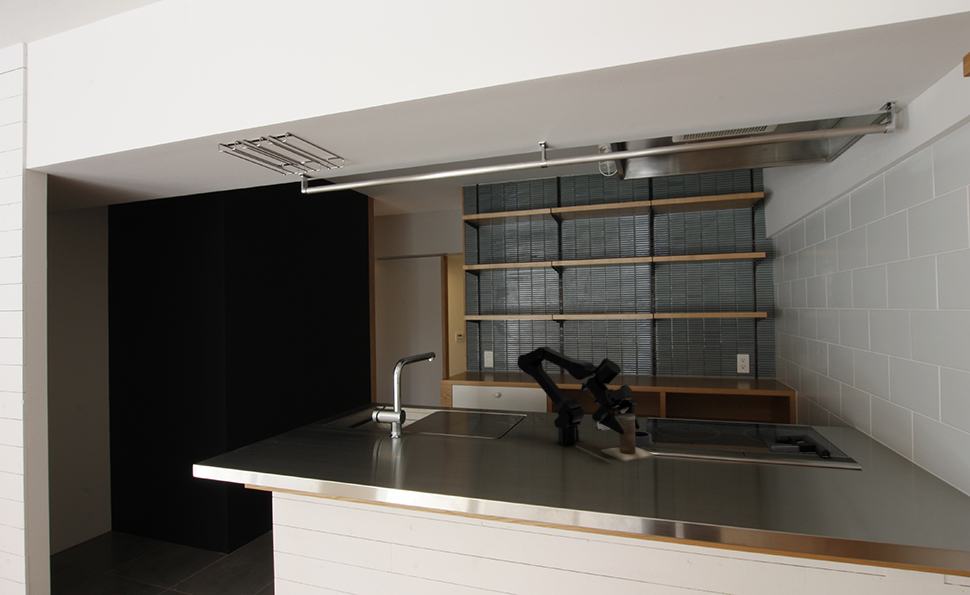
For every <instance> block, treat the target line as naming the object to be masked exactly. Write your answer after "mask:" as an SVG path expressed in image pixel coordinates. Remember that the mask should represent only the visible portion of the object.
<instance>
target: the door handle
mask: <svg viewBox="0 0 970 595" xmlns="http://www.w3.org/2000/svg"><path fill="white" fill-rule="evenodd" d="M773 440H774V443H778V444H789V445H771V446H770V447H771V448H770V449H771V451H772V450H775V451H774V452H780V451H800V452H816V453H818V454H819V455H818V454H817V455H818V456H820V455H821V456H828V457H829V458H830V457H831V454H832V453H831V452H830V450H829V449H828V448H827V447H825V445H824V446H823V445H822V444H821V443H820V442H818V441H817V440H816V438H813V437H812V436H810V435H809V434H805V433H804V434H802V435H776V436H774V439H773ZM800 452H799V453H800ZM821 456H820V457H821Z"/></svg>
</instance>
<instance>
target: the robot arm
mask: <svg viewBox="0 0 970 595" xmlns="http://www.w3.org/2000/svg"><path fill="white" fill-rule="evenodd" d="M544 361H547V362H550V363H551V364H553V365H555V366H558V367H560V368H561V369H563V370H565V371H567V372H568V375H570V376H571V377H573V378H574V379H575V380H576V381H583V380H586V381H583V382H581V387H580V389H581V390H580V391H581V392H584V391H588V392H589V393H590V394H591V396H592V397H593V398H594V401H593V403H594V404H595V405H597V404H598V405H599V406H598V408H597V409H596V410H595V411H594V412H593V413H592V415H591V416H592V420H593V421H594V423H595V424H597V423H598V422H599V424H602V425H604V426H606V427H608V428H610V429H609V430H613V431H615V432H616V433H618V434H619V433H620V434H621V435H623V434H624V431H623V429H622V427H621V426H620V424H619V420H617V418H616V414H615V413H617V414H618V415H619V414H621V413H631V414H634V415H635V414H636V413H635V408H636V405H637V402H636V401H635V400H634V398H632V392H633V391H632V390H633V389H632V388H631V387H630V386H629V385H628V384H623V385H621V386H620V387H619V388H618V389H615V390H614V388H610V389H609V387H608V386H607V385H610V384H612V382H613V381H614V380H615V379H616V378H617V377H618V376H619V375H620V374H621V372H622V369H621V367H620V366H619V364H617V363H615V362H614V361H612V360H610V359H609V358H607V357H606V358H605V357H604V359H603V360H602V361H601V363H599V365H598V366H597V365H594V364H593V362H590V361H587V360H583V359H581V360H580V359H575V358H572V357H570V356H568V355H565V354H563V353H561V352H559V351H557V350H554V349H552V348H551V347H549V346H547V345H546V346H540V347H537V348H536V349H534V350H531V351H529V352H527V353H524V354H520V355H519V356H518V357H517V367H518V368H519V369H520V370H521V371H522V372H523V373H525V374H526V375H528V376H530V377H532V378H533V379H534V380H535V382H536V383H537V384H538V385H539V387H540V388H541V389H542V390H543V392H544V393H545V394H546V396H548V397H549V399H550V401H552V403H553V404H554V405H555V409H556V414H557V415H558V416H557V417H556V418H555V420H554V421H553V423H554V426H555V428H557V433H558V434H557V436H558V437H557V440H556V441H555V442H556V443H557V444H559V445H562V446H564V447H570V446H576V445H577V444H576V442H579V441H580V431H579V427H578V426H580V425H581V423H582V420H583V418H584V415H585V414H584V409H583V404H580V402H579V401H578V400H577V399H576V397H571V398H569V397H567V396H566V394H564V392H563V391H562V390H561V388H559V386H558V385H557V384H556V382H554V380H553V379H552V378H551V377H550V375H549V374H548V373H547V372H546V370H544V367H543V362H544ZM627 397H628V398H627ZM623 399H624V400H623ZM639 429H640V425H639V422H638V419H637V417H636V415H635V430H639Z"/></svg>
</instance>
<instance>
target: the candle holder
mask: <svg viewBox="0 0 970 595" xmlns="http://www.w3.org/2000/svg"><path fill="white" fill-rule="evenodd" d="M652 440H653V438H652V433H651V432H648V431H644V430H643V431H642V430H635V443H636V447H637V448H643V447H645V448H646V447H650V446H653V445H654V443H653V441H652Z"/></svg>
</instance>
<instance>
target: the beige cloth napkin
mask: <svg viewBox="0 0 970 595" xmlns="http://www.w3.org/2000/svg"><path fill="white" fill-rule="evenodd" d="M600 451H601V453H604V454H606V455H608V456H611V457H613V458H615V459H617V460H621V461H622V462H629V461H635V460H639V459H640V460H642V459H647V458H654V457H656V454H655V453H653V452H649V451H648V450H645V449H642V448H641V447H636V453H635V454H623V453H620V446H618V447H616V446H615V447H610V448H605V449H604V448H603V449H601V450H600Z"/></svg>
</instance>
